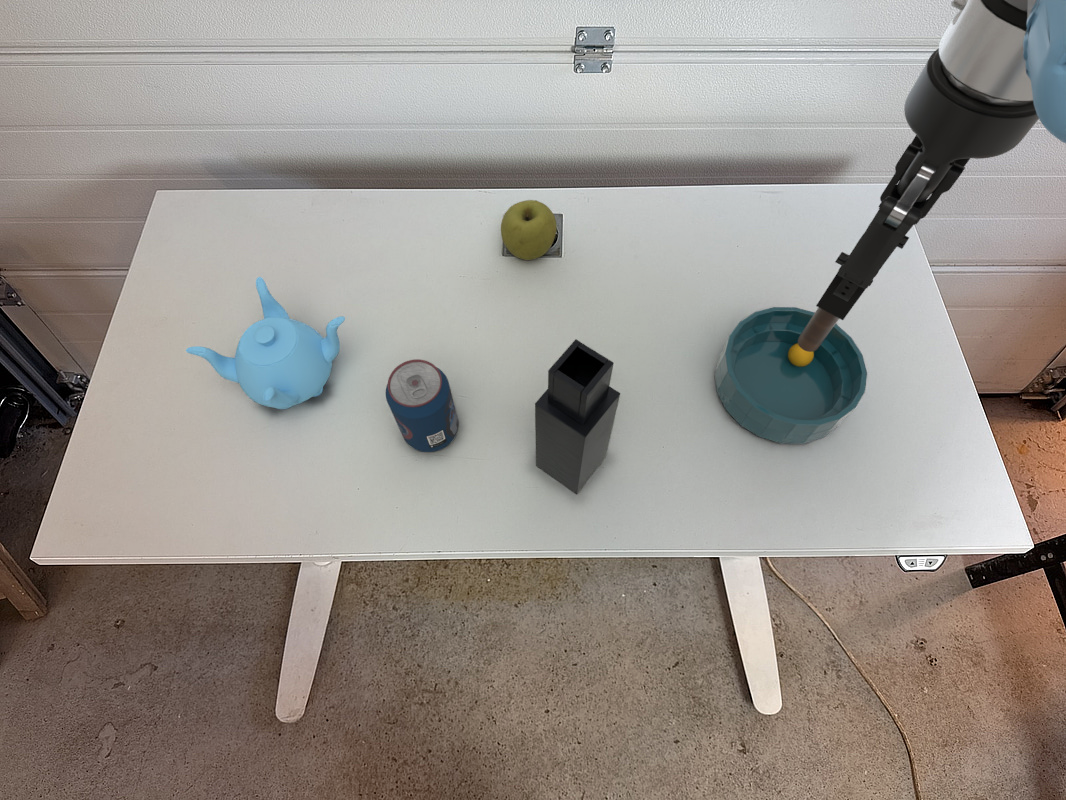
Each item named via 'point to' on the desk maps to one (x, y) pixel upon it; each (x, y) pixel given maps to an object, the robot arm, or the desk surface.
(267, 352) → the teapot
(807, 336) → the stick
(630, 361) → the desk surface
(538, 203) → the apple
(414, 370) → the soda can
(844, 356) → the bowl
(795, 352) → the ball
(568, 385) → the holder
